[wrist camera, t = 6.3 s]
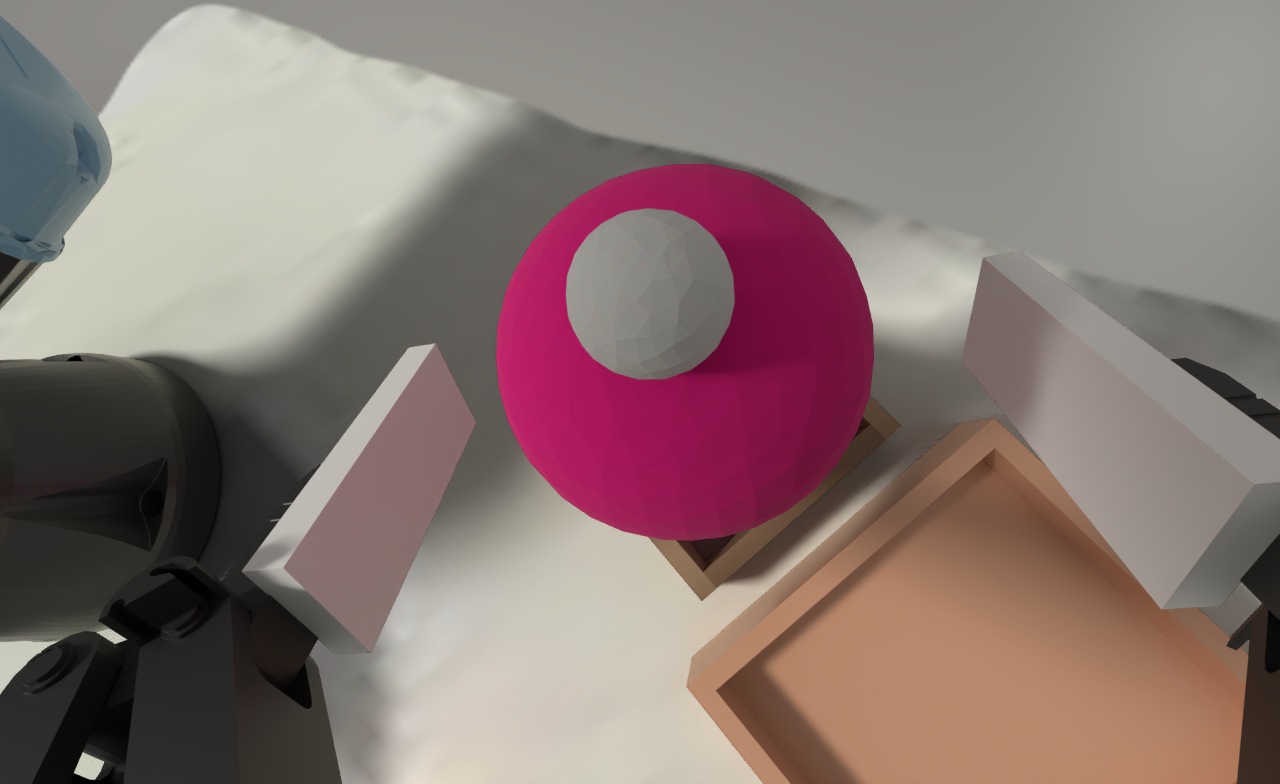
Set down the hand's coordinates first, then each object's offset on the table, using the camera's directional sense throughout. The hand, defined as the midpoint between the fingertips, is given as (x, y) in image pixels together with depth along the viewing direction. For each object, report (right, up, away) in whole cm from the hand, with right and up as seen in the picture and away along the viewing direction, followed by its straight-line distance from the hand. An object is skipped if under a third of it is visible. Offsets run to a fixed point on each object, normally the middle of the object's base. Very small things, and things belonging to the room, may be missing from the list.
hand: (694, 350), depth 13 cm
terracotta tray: (+12, -13, +8) cm, 20 cm away
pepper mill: (+2, -2, +11) cm, 12 cm away
